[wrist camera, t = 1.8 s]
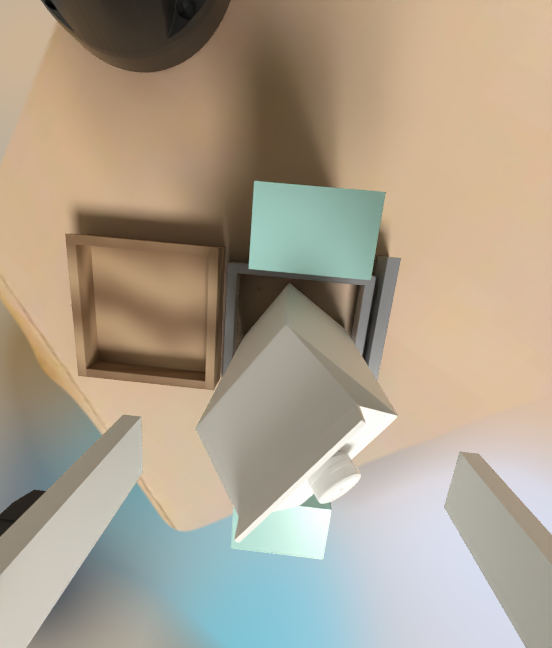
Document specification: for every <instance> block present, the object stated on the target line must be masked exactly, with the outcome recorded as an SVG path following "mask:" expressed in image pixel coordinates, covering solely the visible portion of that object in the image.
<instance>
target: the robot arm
mask: <svg viewBox="0 0 552 648" xmlns="http://www.w3.org/2000/svg"><path fill="white" fill-rule="evenodd" d="M41 1H42V2H43V3H44V5H45V6H46V8H47V9H48V10H49V12H50V13H51V14H52V15H53V17H54V18H55V19H56V20H57V21H58V22H59V23H60V24H61V25H62V27H63V28H64V29H66V30H67V31H68V32H69V33H70V34H71V35H72V36H73V37H74V38H75V39H76V40H77V41H78V42H79V43H80V44H81V45H83V46H84V47H85V48H86V49H87V50H88V51H90V52H91V53H92V54H93V55H95V56H96V57H98V58H99V59H101V60H103V61H105V62H107V63H109V64H111V65H113V66H115V67H118V68H121V69H125V70H129V71H135V72H155V71H161V70H165V69H168V68H171V67H174V66H176V65H178V64H180V63H182V62H184V61H185V60H187V59H188V58H190V57H191V56H193V55H194V54H195V53H196V52H198V51H199V50H200V49H201V48H202V47H203V46H204V45H205V44H206V43H207V41H208V40H209V39H210V38H211V36H212V35H213V34H214V32H215V31H216V29H217V28H218V26H219V24H220V22H221V21H222V19H223V17H224V14H225V12H226V10H227V7H228V5H229V2H230V0H41ZM142 473H143V460H142V423H141V417H139V416H130V415H123V416H122V417H121V418H120V419H119V420H118V421H117V422H116V423H115V424H114V425H113V426H112V427H110V428H109V429H108V430H107V431H106V432H105V433H104V434H103V435H102V437H100V438H99V440H98V441H96V442H95V443H94V444H93V445H92V446H91V447H90V448H89V449H88V450H87V451H86V452H85V454H83V455H82V456H81V457H80V458H79V459H78V460H77V461H76V462H75V463H74V464H73V465H72V466H71V467H70V468H69V469H68V470H67V471H66V472H65V473H64V474H63V475H62V476H61V477H60V478H59V479H58V480H57V481H56V482H55V483H54V484H53V485H52V486H51V487H50V488H49V489H48V490H47V491H40V490H33V491H31V492H30V493H28V494H26V495H25V496H23V497H21V498H20V499H18V500H17V501H15V502H13V503H12V504H11V505H10V506H9V507H8V508H7V509H6V510H4V511H3V512H2V513H1V514H0V648H26V647H27V646H28V644H29V643H30V641H31V640H32V638H33V636H34V635H35V633H36V632H37V631H38V629H39V628H40V626H41V625H42V623H43V622H44V620H45V619H46V617H47V615H48V614H49V613H50V611H51V609H52V608H53V607H54V605H55V604H56V602H57V601H58V599H59V597H60V596H61V594H62V593H63V592H64V590H65V588H66V587H67V585H68V584H69V582H70V581H71V579H72V578H73V576H74V575H75V573H76V572H77V570H78V569H79V567H80V566H81V564H82V563H83V561H84V560H85V558H86V557H87V555H88V554H89V552H90V551H91V549H92V548H93V546H94V545H95V543H96V542H97V540H98V539H99V537H100V536H101V534H102V533H103V531H104V530H105V528H106V527H107V525H108V524H109V522H110V521H111V519H112V518H113V516H114V515H115V513H116V512H117V510H118V509H119V507H120V506H121V504H122V503H123V501H124V500H125V498H126V497H127V495H128V494H129V492H130V491H131V489H132V488H133V486H134V485H135V483H136V482H137V480H138V479H139V477H140V476H141V474H142ZM444 508H445V509H446V511H447V513H448V515H449V516H450V518H451V520H452V522H453V523H454V525H455V526H456V528H457V530H458V531H459V534H460V535H461V537H462V538H463V540H464V542H465V544H466V545H467V547H468V549H469V550H470V552H471V554H472V556H473V558H474V559H475V561H476V563H477V564H478V566H479V568H480V570H481V571H482V573H483V575H484V576H485V578H486V580H487V582H488V583H489V585H490V587H491V589H492V590H493V592H494V593H495V595H496V597H497V599H498V600H499V602H500V604H501V606H502V607H503V609H504V611H505V613H506V614H507V616H508V618H509V619H510V621H511V622H512V625H513V626H514V628H515V630H516V631H517V633H518V635H519V637H520V638H521V640H522V642H523V643H524V645H525V647H526V648H552V535H551V534H550V532H549V531H548V530H547V529H546V528H545V527H544V526H543V525H542V524H541V522H540V521H539V520H538V519H537V518H536V517H535V516H534V515H533V514H532V512H530V510H529V509H528V508H527V507H526V506H525V505H524V504H523V502H522V501H521V500H520V499H519V498H518V497H517V496H516V495H515V494H514V493H513V491H512V490H511V489H510V488H509V487H508V486H507V485H506V484H505V482H504V481H503V480H502V479H501V478H500V477H499V476H498V475H497V474H496V473H495V471H494V470H493V469H492V468H491V467H490V466H489V465H488V464H487V462H486V461H485V460H484V459H483V458H482V457H481V456H480V455H479V454H475V453H465V452H460V453H459V456H458V460H457V463H456V467H455V470H454V474H453V477H452V481H451V484H450V488H449V492H448V495H447V498H446V502H445V506H444Z"/></svg>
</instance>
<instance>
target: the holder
mask: <svg viewBox="0 0 552 648" xmlns="http://www.w3.org/2000/svg"><path fill="white" fill-rule="evenodd" d="M385 193H386V192H379V191H367V190H355V189H344V188H332V187H320V186H309V185H297V184H285V183H273V182H262V181H254V191H253V207H252V223H251V238H250V254H249V263H242V262H230V263H228V274H227V296H226V318H225V340H224V362H223V375H224V373H225V371H226V370H227V368H228V366H229V364H230V362H231V360H232V358H233V356H234V354H235V352H236V344H237V327H238V309H239V291H240V274H250V275H260V276H271V277H281V278H292V279H303V280H313V281H324V282H334V283H345V284H355V285H359V291H358V297H357V304H356V310H355V316H354V322H353V328H352V335H351V339H352V341H353V342H354V344H355V346H356V347H357V349H358V351H359V352H360V354H361V355H362V357H363V359H364V360H365V362H366V364H367V365H368V367H369V369H370V370H371V372H372V374H373V375H374V377H375V378H376V380H377V379H378V374H379V369H380V364H381V359H382V353H383V348H384V343H385V338H386V333H387V328H388V322H389V317H390V312H391V307H392V302H393V296H394V291H395V286H396V281H397V276H398V271H399V265H400V260H401V258H394V257H386V256H378V258H377V264H376V270H375V275H374V276H373V275H372V270H373V264H374V258H375V252H376V246H377V240H378V234H379V228H380V223H381V217H382V211H383V205H384V199H385ZM330 516H331V503H330V502H328V503H324V504H322V503H319V502H318V500H317V498H316V497H315V495H314V494H313V495H312V496H311V497H309V498H308V499H307V500H306V501H305V502H304V503H302V504H301V505H300V506H296V507H292V508H288V509H284V510H279V511H275V512H272V513H271V514H270V515H269V516H267V517H266V518H265V519H264V520H263V521H262V522H261V523H260V524H259V525H258V526H257V527H256V528H255V529H254V530H253V531H251V532H250V533H249V534H248V535H247V536H246V537H245V538H244V539H243V540H242V541H241V542H239V543H237V542H236V541H234V539H235V534H236V529H237V524H238V518H239V517H238V514H237V512H236V510H235V508H234V507H233V523H232V538H231V539H232V540H231V548H233V549H242V550H249V551H258V552H266V553H275V554H282V555H291V556H299V557H307V558H315V559H323V556H324V551H325V545H326V539H327V534H328V528H329V522H330Z"/></svg>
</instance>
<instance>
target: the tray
mask: <svg viewBox="0 0 552 648" xmlns="http://www.w3.org/2000/svg"><path fill="white" fill-rule="evenodd" d="M65 235H66V246H67V257H68V268H69V279H70V290H71V300H72V311H73V322H74V333H75V344H76V355H77V366H78V376H85V377H95V378H104V379H114V380H123V381H132V382H142V383H151V384H161V385H170V386H179V387H189V388H198V389H208V390H214V388H215V386H216V385H217V383H218V381H219V379H220V365H221V342H222V319H223V295H224V272H225V248H226V247H215V246H204V245H193V244H182V243H172V242H161V241H150V240H139V239H128V238H117V237H107V236H96V235H84V234H65Z"/></svg>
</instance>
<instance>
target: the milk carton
mask: <svg viewBox="0 0 552 648" xmlns="http://www.w3.org/2000/svg"><path fill="white" fill-rule="evenodd" d="M397 417H398V415H397V413H396V411H395V410H394V408H393V406H392V405H391V403H390V401H389V400H388V398H387V396H386V395H385V393H384V392H383V390H382V388H381V387H380V385H379V383H378V382H377V380H376V378H375V377H374V375H373V374H372V372H371V370H370V369H369V367H368V365H367V364H366V362H365V360H364V359H363V357H362V355H361V354H360V352H359V351H358V349H357V347H356V346H355V344H354V342H353V341H352V339H351V337H350V336H349V334H348V333H347V331H346V330H345V329H344V328H343V327H342V326H341V325H339V324H338V323H337V322H336V321H335V320H333V319H332V318H331V317H330V316H329V315H327V314H326V313H325V312H324V311H323V310H321V309H320V308H319V307H318V306H317V305H316V304H314V303H313V302H312V301H311V300H310V299H308V298H307V297H306V296H305V295H304V294H302V293H301V292H300V291H299V290H298V289H296V288H295V287H294V286H293V285H292V284H290V283H289V284H288V285H287V286H286V287H285V288H284V289H283V290H282V292H281V293H280V294H279V295H278V296H277V298H276V299H275V300H274V301H273V302H272V304H271V305H270V306H269V307H268V308H267V309H266V311H265V312H264V313H263V314H262V315H261V317H260V318H259V319H258V320H257V321H256V323H255V324H254V325H253V326H252V327H251V329H250V330H249V331H248V332H247V333H246V335H245V336H244V337H243V339H242V341H241V343H240V345H239V347H238V349H237V350H236V352H235V354H234V356H233V358H232V360H231V362H230V364H229V366H228V368H227V370H226V371H225V373H224V375H223V377H222V379H221V381H220V383H219V385H218V387H217V389H216V391H215V392H214V394H213V396H212V398H211V400H210V402H209V404H208V406H207V408H206V410H205V412H204V413H203V415H202V417H201V419H200V421H199V423H198V425H197V427H196V431H197V433H198V435H199V437H200V439H201V441H202V443H203V445H204V447H205V449H206V451H207V453H208V455H209V457H210V459H211V461H212V463H213V465H214V468H215V470H216V472H217V474H218V476H219V478H220V480H221V482H222V484H223V486H224V488H225V490H226V492H227V494H228V496H229V498H230V500H231V502H232V504H233V506H234V508H235V510H236V512H237V514H238V517H239V518H238V524H237V529H236V534H235V539H234V541H236V542H237V543H239V542H241V541H242V540H243V539H244V538H245V537H246V536H247V535H248V534H249V533H250V532H251V531H253V530H254V529H255V528H256V527H257V526H258V525H259V524H260V523H261V522H262V521H263V520H264V519H265V518H266V517H267V516H269V515H270V514H271V513H272V512H275V511H279V510H284V509H288V508H292V507H296V506H300V505H301V504H302V503H304V502H305V501H306V500H307V499H308V498H309V497H311V496H312V495H313V494H314V495H315V497H316V498H317V500H318V502H319V503H322V504H324V503H328V502H331V501H333V500H335V499H337V498H339V497H340V496H342V495H343V494H345V493H346V492H347V491H348V490H350V489H351V488H352V487H353V486H354V485H355V484H356V483H357V482H358V481H359V479H360V477H361V473H360V471H359V470H358V468H357V467H356V466H355V465H354V463H353V462H352V460H351V459H352V458H353V457H354V456H356V455H357V454H358V453H359V452H360V451H361V450H362V449H363V448H364V447H365V446H367V445H368V444H369V443H370V442H371V441H372V440H373V439H374V438H375V437H376V436H378V435H379V434H380V433H381V432H382V431H383V430H384V429H385V428H386V427H387V426H388V425H390V424H391V423H392V422H393V421H394V420H395V419H396V418H397Z"/></svg>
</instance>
